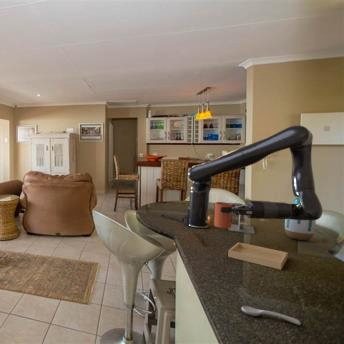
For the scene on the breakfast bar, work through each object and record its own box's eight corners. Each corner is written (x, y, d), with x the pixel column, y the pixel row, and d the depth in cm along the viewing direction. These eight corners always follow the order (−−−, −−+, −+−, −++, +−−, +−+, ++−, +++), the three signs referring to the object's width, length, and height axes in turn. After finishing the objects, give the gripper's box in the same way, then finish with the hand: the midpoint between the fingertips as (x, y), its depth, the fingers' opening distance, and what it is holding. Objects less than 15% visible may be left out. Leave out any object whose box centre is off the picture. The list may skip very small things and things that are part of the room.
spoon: (239, 308, 77) (241, 301, 76) (296, 323, 72) (298, 316, 72) (242, 314, 74) (243, 307, 74) (301, 330, 69) (302, 322, 69)
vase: (306, 237, 138) (310, 197, 137) (319, 244, 129) (323, 201, 127) (279, 234, 142) (282, 196, 140) (289, 241, 132) (293, 200, 130)
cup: (211, 226, 126) (213, 203, 125) (216, 223, 130) (217, 201, 129) (228, 229, 121) (230, 205, 120) (232, 226, 125) (234, 203, 124)
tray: (228, 256, 113) (228, 250, 113) (237, 248, 123) (238, 242, 123) (281, 269, 102) (281, 262, 101) (287, 259, 111) (287, 252, 111)
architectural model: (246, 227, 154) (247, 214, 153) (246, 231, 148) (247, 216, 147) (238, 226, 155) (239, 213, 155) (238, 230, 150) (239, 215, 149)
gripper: (253, 197, 129) (212, 196, 132) (271, 204, 115) (224, 202, 118) (251, 214, 129) (211, 212, 133) (269, 223, 115) (223, 220, 119)
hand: (217, 207), depth 125 cm, fingers closed on cup, 6 cm apart
